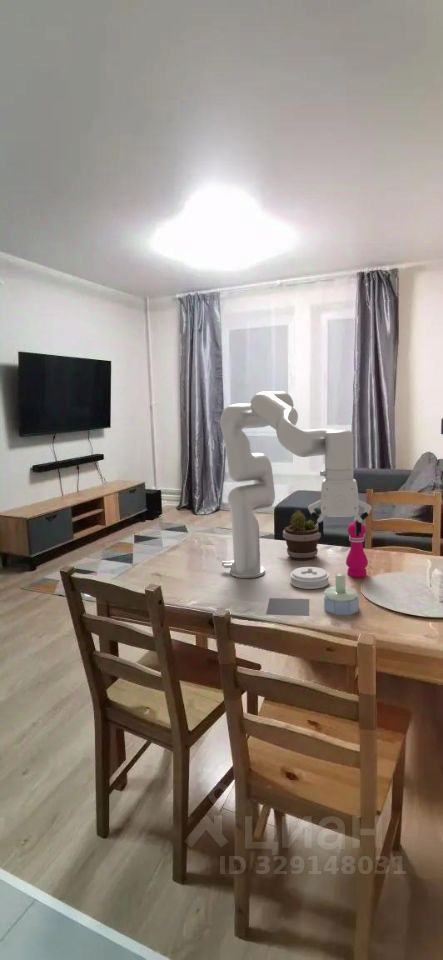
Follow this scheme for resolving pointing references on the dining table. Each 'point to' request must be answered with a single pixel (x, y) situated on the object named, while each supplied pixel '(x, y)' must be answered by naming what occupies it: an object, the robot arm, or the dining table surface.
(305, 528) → the flowerpot
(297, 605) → the mat
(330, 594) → the cover
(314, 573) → the lid
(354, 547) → the pepper mill
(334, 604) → the bowl
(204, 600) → the dining table surface
